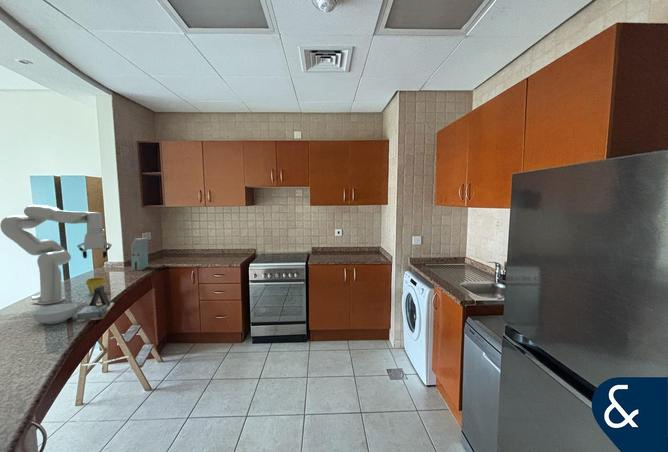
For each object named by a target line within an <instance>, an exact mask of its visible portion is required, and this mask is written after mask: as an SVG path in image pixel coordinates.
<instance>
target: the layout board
mask: <svg viewBox="0 0 668 452" xmlns="http://www.w3.org/2000/svg"><path fill="white" fill-rule="evenodd" d="M101 304H102V303H96V305H101ZM114 305H115V302H110V305H109V306H108V307H107V310H106V312H105V313H104V314H103V315H102V316H101V317H96V318H87V319H79V320H77V319H76V323H79V322H89V321H96V320H103V319H105V317H106V315H107V314H108V313H109V311H111V309H112V308H113V307H114Z"/></svg>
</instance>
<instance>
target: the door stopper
mask: <svg viewBox="0 0 668 452" xmlns="http://www.w3.org/2000/svg"><path fill="white" fill-rule="evenodd" d="M98 299H99V300H100V304H101V305H107V307H108V306H109V305H110V303H111V302H110V299H109V298H108V295H107V293H106V292H105V286H101V287H100V286H99V287H97V288H96V289H95V290H94V294H93V295H92V298H91V301H90V302H89V305H88V306H97V305H96V304H98Z"/></svg>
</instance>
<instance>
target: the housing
mask: <svg viewBox="0 0 668 452" xmlns="http://www.w3.org/2000/svg"><path fill="white" fill-rule="evenodd" d="M106 310H107V305H97V306H89V305H88V306H84V307H83V308H82V309H80V311H78V313H76V321H77V320H79V319H87V318H96V317H101V316H102V315H103V314H104V313H105V312H106Z"/></svg>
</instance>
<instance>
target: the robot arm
mask: <svg viewBox="0 0 668 452" xmlns="http://www.w3.org/2000/svg"><path fill="white" fill-rule="evenodd" d="M23 214H24V215H21V214H20V215H19V214H18V215H10V216H5V217H4V218H2V220H1V221H0V230H1V232H2V233H3V235H4V236H6V237H7V238H8V239H10V240H11V241H13V242H14V243H15V244H17V245H18V246H19V247H20V248H21V249H23V250H24V251H25V252H26V253H28V254H29V255H31V256H38V258H37V260H36V261H37V263H36V264H37V267H38V270H39V281H40V282H39V283H40V286H39V287H40V294H39V295H38V296H36V295H35V296H31V300H32V301H37V302H36V304H37V305H41V306H42V305H51V304H57V303H61V302H64V301H65V300H66V297H65V296H63V294H62V292H63V291H62V271H61V269H60V267H59V266H62V265H65V264H68V263H69V262H70V261H71V259H72V255H71V254H70V252H69V251H68V250H66V249H65V248H64V247H63V246H62V245H61V244H59V243H58V242H57V241H55V240H54V239H51V238H49V239H48V238H46V239H45V238H44V239H39V238H38V237H36V236H35V235H34V234H33V233H31V232H28V231H27V230H28V229H33V228H36V227H38V226H39V225H41V224H43V223H45V222H46V221H52V222H57V223H63V224H76V225H77V224H86V233H85V235H84V242H82V243H79V244H77V245H76V246H77V248H78V250H79V251H80V252H82V257H83V259H87V258H88V252H87V250H102V258H107V256H108V255H107V254H108V253H107V251H108V250H110V249H111V248H112V245H113V244H111V243H109V242H106V236H105V231H106V229H104V228H103V214H102V212H99V211H81V210H80V211H71V210H61V208H60V207H54V206H49V205H48V204H47V205H46V204H31V205H28V206H26V207H25V208H24V209H23ZM25 229H26V230H25ZM103 232H104V233H103ZM106 246H107V248H106Z"/></svg>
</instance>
